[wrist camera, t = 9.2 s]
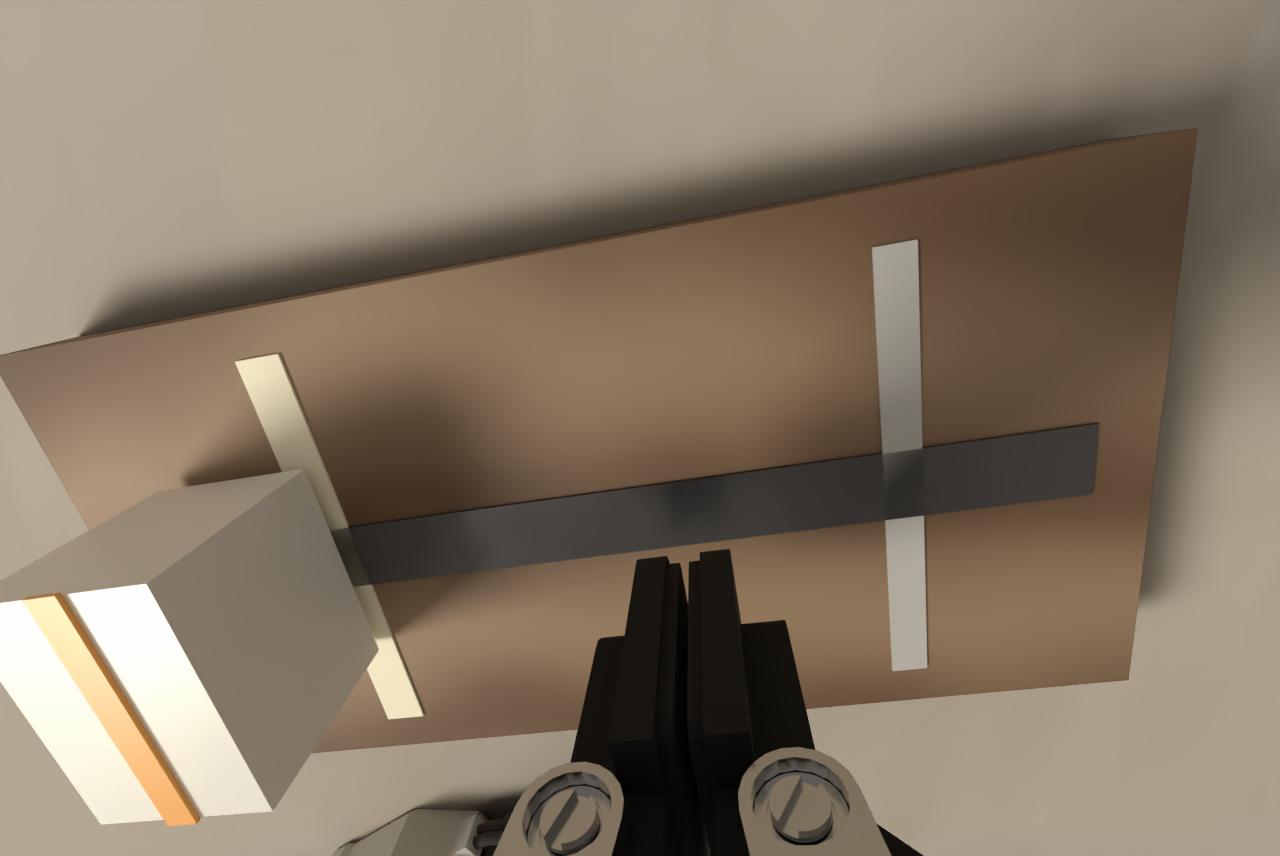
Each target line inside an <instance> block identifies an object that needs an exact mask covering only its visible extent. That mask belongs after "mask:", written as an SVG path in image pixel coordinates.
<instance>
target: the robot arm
mask: <svg viewBox="0 0 1280 856" xmlns="http://www.w3.org/2000/svg"><path fill="white" fill-rule="evenodd" d="M708 843H709V848H710V853H711V856H923V855H922V854H920V853H919V852H917V851H916V850H914V849H913V848H911V847H910V846H909V845H907V844H906V843H904V842H903V841H901V840H900V839H898V838H897V837H895V836H894V835H892V834H891V833H890V832H888V831H887V830H885V829H884V828H882V827H881V826H879V825H878V824H876V822H875V820H874V817H873V815H872V813H871V811H870V809H869V807H868V804H867V802H866V800H865V798H864V796H863V794H862V792H861V789H860V787H859V786H858V784H857V783H856V781H855V780H854V778H853V776H852V775H851V773H850V772H849V771H848V770H847V769H846V768H845V767H844V766H842V765H841V764H840V763H839V762H838V761H837V760H835V759H834V758H832V757H830V756H828V755H826V754H824V753H821V752H819V751H817V750H815V747H814V743H813V738H812V734H811V730H810V725H809V721H808V716H807V712H806V707H805V703H804V699H803V694H802V690H801V685H800V681H799V677H798V672H797V668H796V663H795V659H794V654H793V650H792V646H791V641H790V637H789V632H788V628H787V624H786V621H785V620H778V621H768V622H757V623H747V624H741V617H740V611H739V604H738V597H737V591H736V584H735V578H734V571H733V565H732V558H731V552H730V549H723V550H714V551H705V552H700V560H699V561H690V562H689V578H688V601H687V595H686V590H685V585H684V579H683V574H682V569H681V565H680V563H672V564H670V562H669V559H668V557H667V556H662V557H653V558H644V559H638V560H637V561H636V567H635V573H634V579H633V585H632V592H631V598H630V604H629V611H628V617H627V623H626V629H625V635H624V636H613V637H603V638H600V639H599V640H598V642H597V645H596V649H595V654H594V658H593V663H592V668H591V672H590V677H589V681H588V686H587V690H586V695H585V699H584V704H583V708H582V713H581V718H580V722H579V727H578V731H577V736H576V740H575V745H574V749H573V754H572V759H571V763H567V764H564V765H561V766H558V767H555V768H553V769H551V770H549V771H548V772H546V773H545V774H543V775H541V776H540V777H538V778H537V779H536V780H535V781H534V782H533V783H532V784H531V785H530V786H529V787H528V788H527V789H526V790H525V791H524V793H523V794H522V796H521V797H520V799H519V801H518V802H517V804H516V806H515V808H514V810H513V812H512V814H511V817H510V819H509V821H508V823H507V825H506V828H505V830H504V832H503V834H502V837H501V839H500V841H499V843H498V846H497V848H496V850H495V852H494V855H493V856H708Z"/></svg>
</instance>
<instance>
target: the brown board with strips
mask: <svg viewBox="0 0 1280 856" xmlns="http://www.w3.org/2000/svg"><path fill="white" fill-rule="evenodd" d="M1197 129H1198V128H1193V129H1185V130H1177V131H1169V132H1162V133H1154V134H1146V135H1139V136H1131V137H1123V138H1116V139H1111V140H1106V141H1101V142H1095V143H1090V144H1085V145H1080V146H1074V147H1069V148H1064V149H1059V150H1054V151H1048V152H1043V153H1038V154H1033V155H1027V156H1022V157H1017V158H1012V159H1006V160H1001V161H996V162H991V163H986V164H980V165H975V166H970V167H965V168H959V169H954V170H949V171H944V172H938V173H933V174H928V175H923V176H918V177H912V178H907V179H902V180H897V181H891V182H886V183H881V184H876V185H870V186H865V187H860V188H855V189H850V190H844V191H839V192H834V193H829V194H823V195H818V196H813V197H808V198H802V199H797V200H792V201H787V202H782V203H776V204H771V205H766V206H761V207H755V208H750V209H745V210H740V211H734V212H729V213H724V214H719V215H714V216H708V217H703V218H698V219H693V220H687V221H682V222H677V223H672V224H667V225H661V226H656V227H651V228H646V229H640V230H635V231H630V232H625V233H619V234H614V235H609V236H604V237H599V238H593V239H588V240H583V241H578V242H572V243H567V244H562V245H557V246H551V247H546V248H541V249H536V250H531V251H525V252H520V253H515V254H510V255H504V256H499V257H494V258H489V259H483V260H478V261H473V262H468V263H463V264H457V265H452V266H447V267H442V268H436V269H431V270H426V271H421V272H415V273H410V274H405V275H400V276H395V277H389V278H384V279H379V280H374V281H368V282H363V283H358V284H353V285H347V286H342V287H337V288H332V289H327V290H321V291H316V292H311V293H306V294H300V295H295V296H290V297H285V298H279V299H274V300H269V301H264V302H259V303H253V304H248V305H243V306H238V307H232V308H227V309H222V310H217V311H212V312H206V313H201V314H196V315H191V316H185V317H180V318H175V319H170V320H164V321H159V322H154V323H149V324H144V325H138V326H133V327H128V328H123V329H117V330H112V331H107V332H102V333H96V334H91V335H86V336H81V337H76V338H71V339H67V340H63V341H59V342H54V343H50V344H46V345H42V346H37V347H33V348H29V349H25V350H20V351H16V352H12V353H8V354H3V355H0V376H1V378H2V379H3V381H4V383H5V385H6V386H7V388H8V390H9V392H10V393H11V395H12V397H13V398H14V400H15V402H16V404H17V405H18V407H19V409H20V411H21V412H22V414H23V416H24V418H25V419H26V421H27V423H28V425H29V426H30V428H31V430H32V432H33V433H34V435H35V437H36V439H37V440H38V442H39V444H40V446H41V447H42V449H43V451H44V452H45V454H46V456H47V458H48V459H49V461H50V463H51V465H52V466H53V468H54V470H55V472H56V473H57V475H58V477H59V479H60V480H61V482H62V484H63V486H64V487H65V489H66V491H67V493H68V494H69V496H70V498H71V500H72V501H73V503H74V505H75V506H76V508H77V510H78V512H79V513H80V515H81V517H82V519H83V520H84V522H85V524H86V526H87V527H88V529H89V530H91V529H93V528H95V527H96V526H98V525H100V524H102V523H103V522H105V521H107V520H109V519H110V518H112V517H114V516H116V515H117V514H119V513H121V512H123V511H124V510H126V509H128V508H130V507H132V506H133V505H135V504H137V503H139V502H140V501H142V500H144V499H146V498H147V497H149V496H151V495H153V494H154V493H156V492H158V491H162V490H169V489H175V488H182V487H188V486H195V485H201V484H208V483H215V482H221V481H228V480H234V479H241V478H247V477H254V476H260V475H267V474H274V473H280V472H287V471H293V470H300V469H304V470H305V472H306V475H307V477H308V480H309V482H310V485H311V487H312V489H313V492H314V494H315V497H316V499H317V501H318V504H319V506H320V509H321V511H322V513H323V516H324V518H325V521H326V523H327V525H328V528H329V530H330V533H331V535H332V538H333V540H334V542H335V545H336V547H337V550H338V552H339V554H340V557H341V559H342V562H343V564H344V566H345V569H346V571H347V574H348V576H349V578H350V581H351V583H352V586H353V588H354V591H355V593H356V595H357V598H358V600H359V603H360V605H361V607H362V610H363V612H364V615H365V617H366V619H367V622H368V624H369V627H370V629H371V631H372V634H373V636H374V639H375V641H376V643H377V646H378V648H379V651H378V653H377V654H376V656H375V657H374V659H373V660H372V662H371V663H370V665H369V666H368V668H367V669H366V671H365V672H364V674H363V675H362V677H361V678H360V680H359V681H358V683H357V684H356V686H355V687H354V689H353V690H352V692H351V693H350V695H349V696H348V698H347V699H346V701H345V703H344V704H343V706H342V707H341V709H340V710H339V712H338V713H337V715H336V716H335V718H334V719H333V721H332V722H331V724H330V725H329V727H328V728H327V730H326V731H325V733H324V734H323V736H322V737H321V739H320V740H319V742H318V743H317V745H316V746H315V748H314V749H313V751H312V752H311V753H319V752H330V751H342V750H353V749H364V748H375V747H386V746H397V745H408V744H420V743H431V742H442V741H453V740H464V739H475V738H487V737H498V736H509V735H520V734H531V733H542V732H554V731H565V730H576V729H578V727H579V722H580V718H581V713H582V708H583V704H584V699H585V695H586V690H587V686H588V681H589V677H590V672H591V668H592V663H593V658H594V654H595V649H596V645H597V642H598V640H599V639H600V638H603V637H613V636H624V635H625V629H626V623H627V617H628V611H629V604H630V598H631V592H632V585H633V579H634V573H635V567H636V561H637V560H638V559H644V558H653V557H662V556H667V557H668V559H669V562H670V564H672V563H680V565H681V569H682V574H683V579H684V585H685V590H686V595H687V601H688V578H689V562H690V561H699V560H700V552H705V551H714V550H723V549H730V552H731V558H732V565H733V571H734V578H735V584H736V591H737V597H738V604H739V611H740V617H741V624H747V623H757V622H768V621H778V620H785V621H786V624H787V628H788V632H789V637H790V641H791V646H792V650H793V654H794V659H795V663H796V668H797V672H798V677H799V681H800V685H801V690H802V694H803V699H804V703H805V707H806V709H810V708H821V707H833V706H844V705H855V704H866V703H877V702H888V701H899V700H911V699H922V698H933V697H944V696H955V695H966V694H978V693H989V692H1000V691H1011V690H1022V689H1033V688H1045V687H1056V686H1067V685H1078V684H1089V683H1100V682H1111V681H1123V680H1129V672H1130V664H1131V656H1132V648H1133V640H1134V632H1135V624H1136V616H1137V608H1138V600H1139V592H1140V584H1141V576H1142V568H1143V560H1144V552H1145V544H1146V536H1147V528H1148V520H1149V512H1150V504H1151V496H1152V488H1153V480H1154V472H1155V464H1156V456H1157V448H1158V440H1159V432H1160V424H1161V416H1162V408H1163V400H1164V392H1165V384H1166V376H1167V368H1168V360H1169V352H1170V344H1171V336H1172V328H1173V321H1174V313H1175V305H1176V297H1177V289H1178V281H1179V273H1180V265H1181V257H1182V249H1183V241H1184V233H1185V225H1186V217H1187V209H1188V201H1189V193H1190V185H1191V177H1192V169H1193V161H1194V153H1195V145H1196V137H1197Z"/></svg>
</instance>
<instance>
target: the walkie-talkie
mask: <svg viewBox="0 0 1280 856" xmlns="http://www.w3.org/2000/svg"><path fill="white" fill-rule="evenodd" d="M511 814H512V812H510V811H509V812H507V813H506V814H505V817H503V818H501V819H499V818H496V819H494V820H489V819H487V818H486V817H485V816H484V815H483V814H482V813H480V812H479V811H466V810H439V809H416V810H413V811H411V812H409V813H407V814H406V815H404V816H402V817H400V818H399V819H397V820H395V821H393V822H392V823H390V824H388V825H387V826H385V827H383V828H381V829H380V830H378V831H376V832H374V833H373V834H371V835H369V836H368V837H366V838H364V839H362V840H361V841H359V842H357V843H348V844H346V845H345V846H343V847H341V848H340V849H338V850H336V851H335V852H334V853H333V855H332V856H493V855H494V852H495V850H496V848H497V846H498V843H499V841H500V839H501V837H502V834H503V832H504V830H505V828H506V825H507V823H508V821H509V819H510V817H511ZM708 856H711V854H710V853H709V852H708Z"/></svg>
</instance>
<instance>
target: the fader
mask: <svg viewBox="0 0 1280 856" xmlns="http://www.w3.org/2000/svg"><path fill="white" fill-rule="evenodd" d="M378 651H379V648H378V646H377V643H376V641H375V639H374V636H373V634H372V631H371V629H370V627H369V624H368V622H367V619H366V617H365V615H364V612H363V610H362V607H361V605H360V603H359V600H358V598H357V595H356V593H355V591H354V588H353V586H352V583H351V581H350V578H349V576H348V574H347V571H346V569H345V566H344V564H343V562H342V559H341V557H340V554H339V552H338V550H337V547H336V545H335V542H334V540H333V538H332V535H331V533H330V530H329V528H328V525H327V523H326V521H325V518H324V516H323V513H322V511H321V509H320V506H319V504H318V501H317V499H316V497H315V494H314V492H313V489H312V487H311V485H310V482H309V480H308V477H307V475H306V472H305V470H304V469H300V470H293V471H287V472H280V473H274V474H267V475H260V476H254V477H247V478H241V479H234V480H228V481H221V482H215V483H208V484H201V485H195V486H188V487H182V488H175V489H169V490H162V491H158V492H156V493H154V494H153V495H151V496H149V497H147V498H146V499H144V500H142V501H140V502H139V503H137V504H135V505H133V506H132V507H130V508H128V509H126V510H124V511H123V512H121V513H119V514H117V515H116V516H114V517H112V518H110V519H109V520H107V521H105V522H103V523H102V524H100V525H98V526H96V527H95V528H93V529H91V530H89V531H88V532H86V533H84V534H82V535H80V536H79V537H77V538H75V539H73V540H72V541H70V542H68V543H66V544H65V545H63V546H61V547H59V548H58V549H56V550H54V551H52V552H51V553H49V554H47V555H45V556H43V557H42V558H40V559H38V560H36V561H35V562H33V563H31V564H29V565H28V566H26V567H24V568H22V569H21V570H19V571H17V572H15V573H14V574H12V575H10V576H8V577H7V578H5V579H3V580H1V581H0V682H1V683H2V684H3V686H4V687H5V689H6V690H7V691H8V693H9V694H10V696H11V697H12V699H13V700H14V701H15V703H16V704H17V706H18V707H19V709H20V710H21V711H22V713H23V714H24V716H25V717H26V718H27V720H28V721H29V723H30V724H31V726H32V727H33V728H34V730H35V731H36V733H37V734H38V736H39V737H40V738H41V740H42V741H43V743H44V744H45V746H46V747H47V748H48V750H49V751H50V753H51V754H52V755H53V757H54V758H55V760H56V761H57V763H58V764H59V765H60V767H61V768H62V770H63V771H64V773H65V774H66V775H67V777H68V778H69V780H70V781H71V783H72V784H73V785H74V787H75V788H76V790H77V791H78V792H79V794H80V795H81V797H82V798H83V800H84V801H85V802H86V804H87V805H88V807H89V808H90V810H91V811H92V812H93V814H94V815H95V817H96V818H97V820H98V821H99V822H100V824H114V823H127V822H140V821H153V820H164V821H165V822H166V824H167V826H176V825H190V824H197V823H198V822H199V820H200V819H201V818H200V817H204V816H217V815H230V814H243V813H256V812H269V811H273V810H274V808H275V807H276V805H277V804H278V802H279V801H280V799H281V798H282V796H283V795H284V793H285V792H286V790H287V789H288V787H289V786H290V784H291V783H292V781H293V780H294V778H295V777H296V775H297V774H298V772H299V771H300V769H301V768H302V766H303V765H304V763H305V762H306V760H307V759H308V757H309V756H310V754H311V752H312V751H313V749H314V748H315V746H316V745H317V743H318V742H319V740H320V739H321V737H322V736H323V734H324V733H325V731H326V730H327V728H328V727H329V725H330V724H331V722H332V721H333V719H334V718H335V716H336V715H337V713H338V712H339V710H340V709H341V707H342V706H343V704H344V703H345V701H346V699H347V698H348V696H349V695H350V693H351V692H352V690H353V689H354V687H355V686H356V684H357V683H358V681H359V680H360V678H361V677H362V675H363V674H364V672H365V671H366V669H367V668H368V666H369V665H370V663H371V662H372V660H373V659H374V657H375V656H376V654H377V653H378Z"/></svg>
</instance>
